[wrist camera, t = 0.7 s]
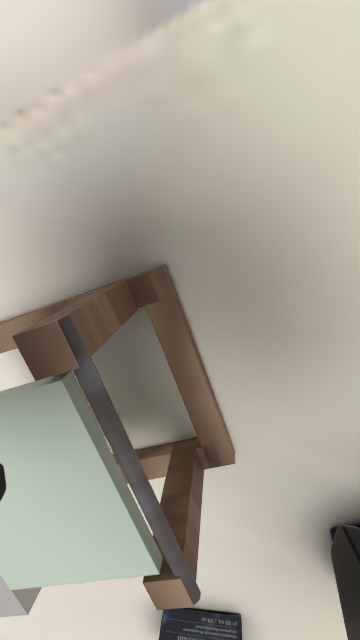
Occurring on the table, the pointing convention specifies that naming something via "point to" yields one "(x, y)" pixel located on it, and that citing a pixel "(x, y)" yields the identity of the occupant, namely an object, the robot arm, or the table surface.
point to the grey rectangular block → (16, 600)
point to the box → (199, 625)
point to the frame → (135, 466)
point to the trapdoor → (64, 494)
